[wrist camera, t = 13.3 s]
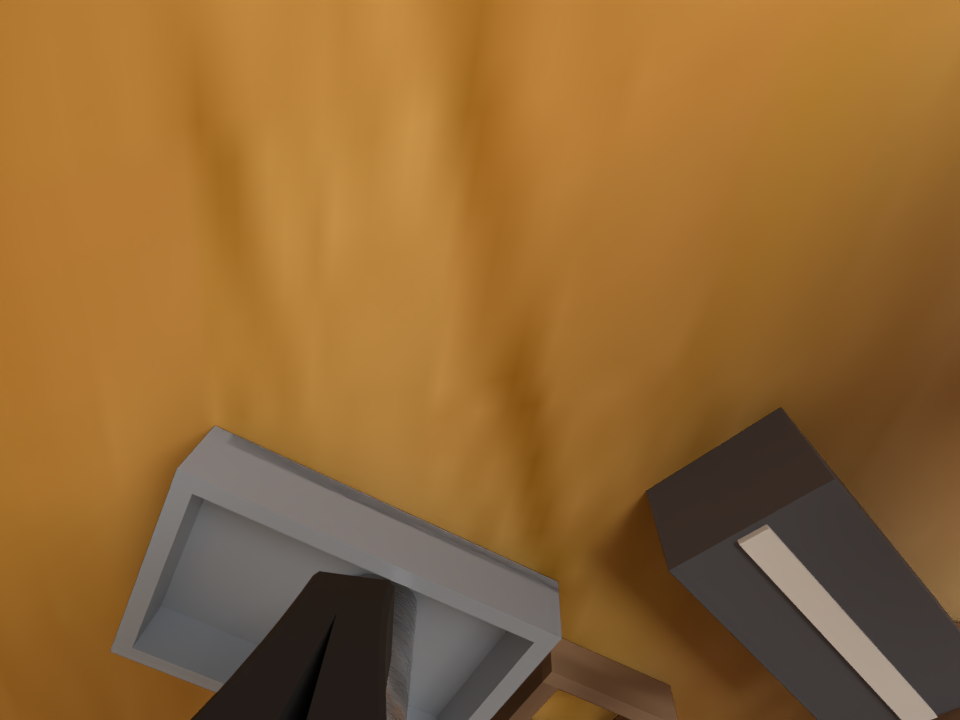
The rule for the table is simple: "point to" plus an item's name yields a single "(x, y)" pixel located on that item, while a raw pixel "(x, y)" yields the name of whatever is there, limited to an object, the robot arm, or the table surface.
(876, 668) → the block
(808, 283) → the table surface
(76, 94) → the table surface
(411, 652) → the pin
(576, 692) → the collar
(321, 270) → the table surface
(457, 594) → the tray
